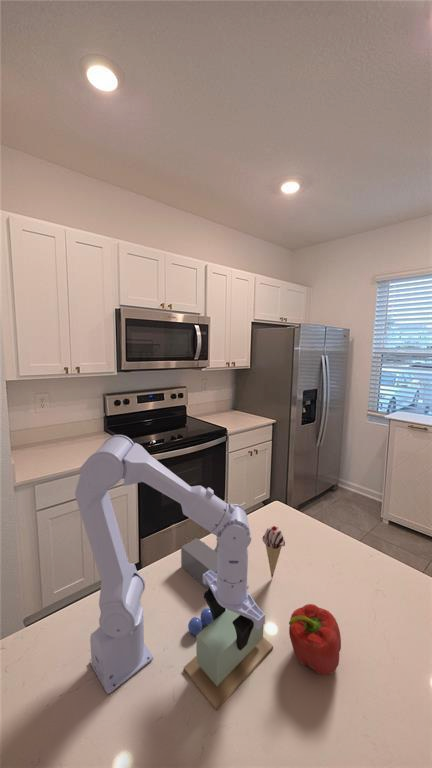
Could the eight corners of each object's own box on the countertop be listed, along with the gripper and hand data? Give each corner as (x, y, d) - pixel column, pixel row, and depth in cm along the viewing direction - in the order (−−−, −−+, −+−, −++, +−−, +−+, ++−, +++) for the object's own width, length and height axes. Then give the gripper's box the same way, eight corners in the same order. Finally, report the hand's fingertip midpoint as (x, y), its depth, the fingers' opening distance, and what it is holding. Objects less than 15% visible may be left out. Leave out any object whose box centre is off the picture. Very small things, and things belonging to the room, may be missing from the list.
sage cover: (216, 686, 56) (217, 657, 55) (196, 662, 60) (196, 635, 59) (263, 638, 65) (263, 612, 64) (242, 620, 69) (243, 596, 68)
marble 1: (194, 641, 66) (194, 629, 66) (185, 631, 68) (185, 619, 68) (205, 632, 68) (205, 620, 68) (196, 623, 70) (196, 611, 70)
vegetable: (298, 692, 57) (301, 644, 55) (276, 639, 67) (278, 597, 65) (352, 680, 59) (357, 634, 57) (323, 630, 69) (326, 589, 68)
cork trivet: (216, 710, 54) (216, 707, 54) (183, 669, 60) (183, 667, 60) (273, 648, 65) (273, 645, 65) (240, 619, 71) (240, 617, 71)
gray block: (229, 583, 82) (230, 562, 81) (213, 595, 78) (213, 573, 77) (196, 557, 91) (197, 538, 90) (181, 566, 87) (181, 546, 86)
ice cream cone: (284, 587, 80) (287, 533, 78) (262, 587, 81) (264, 532, 78) (280, 571, 86) (283, 520, 84) (259, 570, 86) (261, 519, 84)
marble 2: (206, 631, 68) (206, 619, 68) (197, 622, 71) (197, 610, 70) (216, 622, 70) (216, 610, 70) (207, 614, 73) (207, 602, 72)
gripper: (276, 582, 57) (273, 647, 59) (220, 543, 68) (219, 600, 70) (251, 605, 52) (248, 674, 55) (194, 559, 63) (194, 619, 65)
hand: (230, 634), depth 62 cm, fingers closed on sage cover, 6 cm apart
